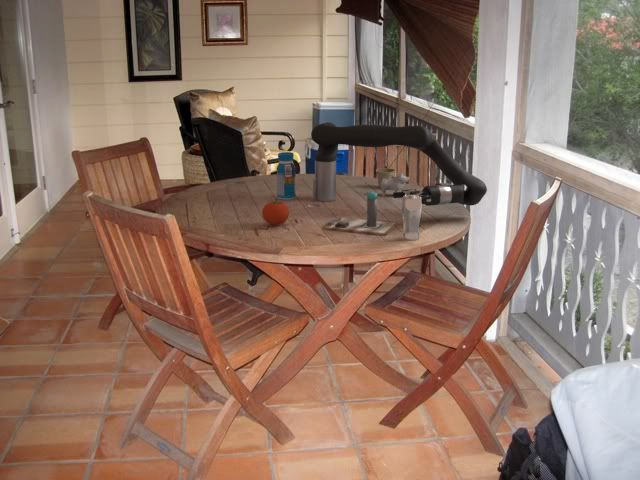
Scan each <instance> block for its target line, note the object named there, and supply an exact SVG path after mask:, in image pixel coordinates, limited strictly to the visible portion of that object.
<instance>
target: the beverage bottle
mask: <svg viewBox="0 0 640 480" xmlns="http://www.w3.org/2000/svg"><path fill="white" fill-rule="evenodd" d="M277 160H278V162H279V163H278V164H277V166H276V171H277V172H276V175H275V176H276V180H277V181H276V183H277V184H276V188H277V189H276V190H277V199H279V200H281V199H282V201H287V200H288V201H290V200H294V199H295V198H296V196H297V195H296V177H297V176H296V171H295V170H296V166H295V164H294V162H293V161H294V152H288V151H282V152H279V153H278V154H277Z"/></svg>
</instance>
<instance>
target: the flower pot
mask: <svg viewBox="0 0 640 480" xmlns="http://www.w3.org/2000/svg"><path fill="white" fill-rule="evenodd" d="M396 171H397V170H396V169H395V168H377V169H375V172H376V174H377V183H378V188H379V189H380V190H381V189H382V188H381V185H380V184H381V180H382V179H387V180H392V179H391V176H393V175H394V176H395V173H396Z"/></svg>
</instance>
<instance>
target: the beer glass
mask: <svg viewBox="0 0 640 480" xmlns="http://www.w3.org/2000/svg"><path fill="white" fill-rule="evenodd" d="M402 199H403V200H402ZM402 199H401V200H402V202H401V218H402V224H403V225H402V227H403V231H402V236H401V238H402V239H403V240H405V241H410V240H413V241H418V240H420V233H419V231H420V230H419V229H420V223H421V222H420V221H421V218H422V217H421V216H422V210H423V204H422V197H421V196H419V195H407V194H405V195H404V196H403V198H402Z"/></svg>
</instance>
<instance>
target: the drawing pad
mask: <svg viewBox="0 0 640 480" xmlns="http://www.w3.org/2000/svg"><path fill="white" fill-rule="evenodd" d="M398 225H399V222H394V221H391V222H390V221H385V220H384V221H382V220H377V222H376V227H368V226H367V219H362V218H350V217H341V216H339V217H334V218H333V219H331V220H330V221H328V222H327V225H325V226H324V227H322V230H325V231H335V232H343V233H351V234H354V233H355V234H365V235H371V236H372V235H373V236H383V237H386V236H387V235H388V234H390V233H391V232H392V231H393V230H394V229H395V228H396V227H397V226H398ZM390 231H391V232H390Z"/></svg>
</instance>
